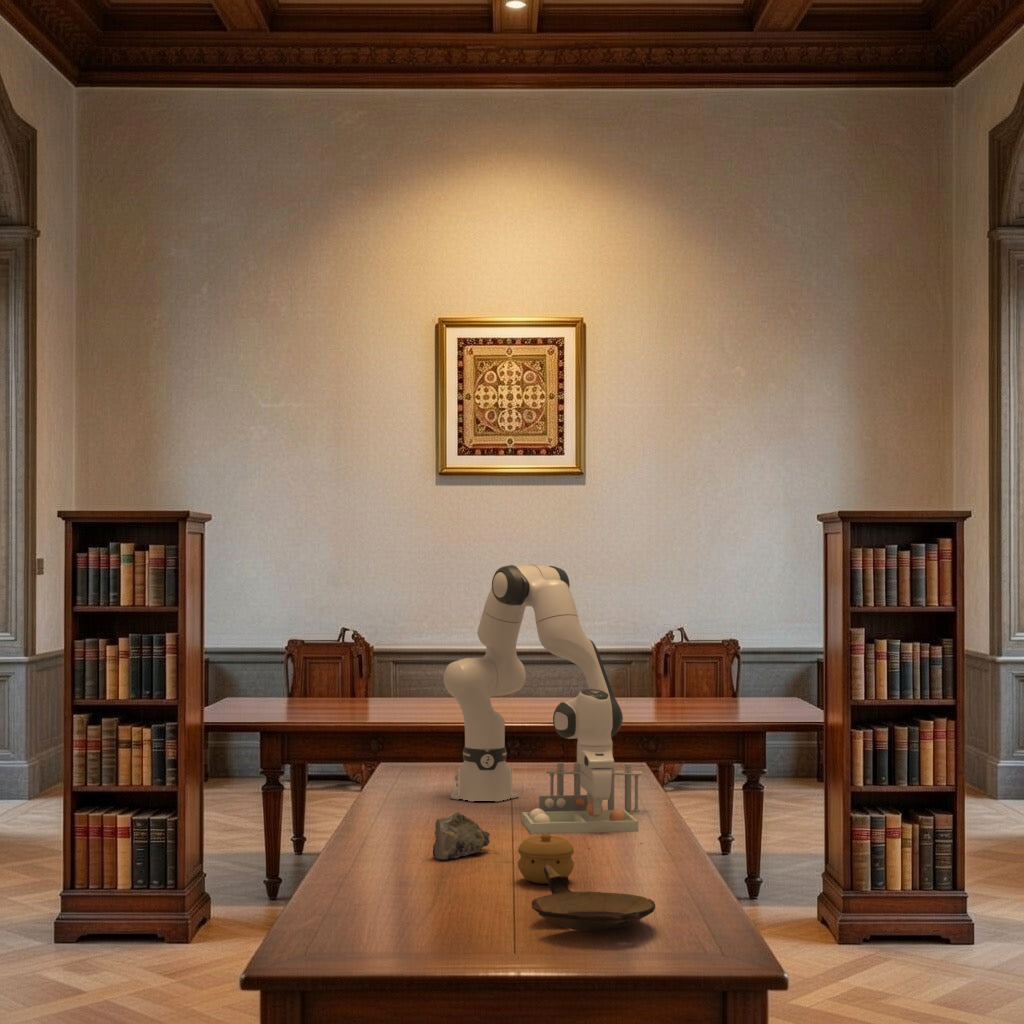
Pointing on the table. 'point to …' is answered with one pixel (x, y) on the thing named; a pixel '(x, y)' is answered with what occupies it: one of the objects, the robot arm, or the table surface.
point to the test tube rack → (627, 773)
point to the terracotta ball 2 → (617, 815)
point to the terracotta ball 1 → (590, 809)
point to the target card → (563, 803)
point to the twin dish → (579, 823)
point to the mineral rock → (458, 837)
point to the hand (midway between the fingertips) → (594, 812)
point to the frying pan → (589, 906)
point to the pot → (545, 857)
